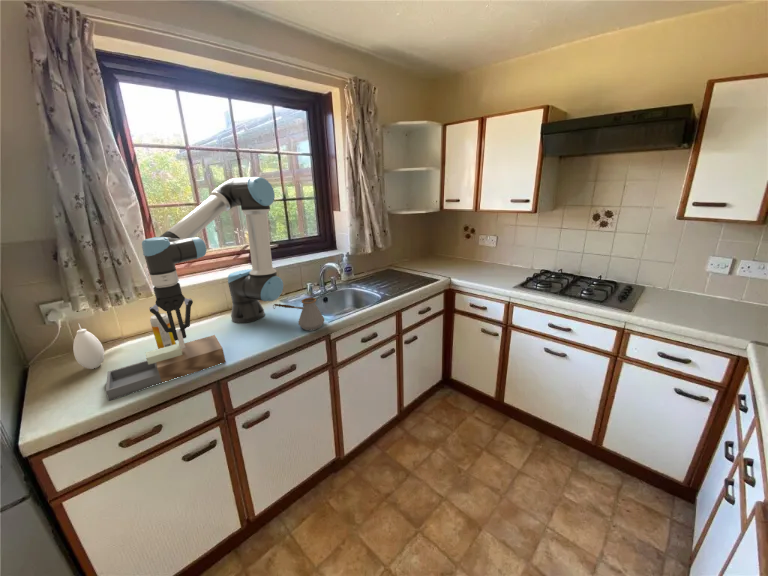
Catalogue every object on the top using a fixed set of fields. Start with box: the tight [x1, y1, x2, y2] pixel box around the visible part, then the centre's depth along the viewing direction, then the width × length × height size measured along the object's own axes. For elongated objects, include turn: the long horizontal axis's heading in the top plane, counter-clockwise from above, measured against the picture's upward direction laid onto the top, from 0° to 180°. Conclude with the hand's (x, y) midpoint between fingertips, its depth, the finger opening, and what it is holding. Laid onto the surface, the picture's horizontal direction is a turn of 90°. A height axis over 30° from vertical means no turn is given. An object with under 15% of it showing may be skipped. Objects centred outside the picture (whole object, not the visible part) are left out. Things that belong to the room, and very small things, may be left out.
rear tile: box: [163, 342, 182, 359], centre depth 116 cm, size 5×5×2 cm
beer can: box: [149, 312, 177, 349], centre depth 130 cm, size 6×6×15 cm
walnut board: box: [156, 334, 227, 383], centre depth 120 cm, size 20×14×6 cm
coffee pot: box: [272, 297, 325, 332], centre depth 143 cm, size 21×12×15 cm, turn 126°
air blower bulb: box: [72, 322, 105, 370], centre depth 119 cm, size 8×8×18 cm
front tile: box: [145, 348, 166, 365], centre depth 113 cm, size 5×5×2 cm
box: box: [105, 360, 163, 401], centre depth 111 cm, size 14×14×4 cm
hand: (182, 346), depth 117 cm, fingers closed
